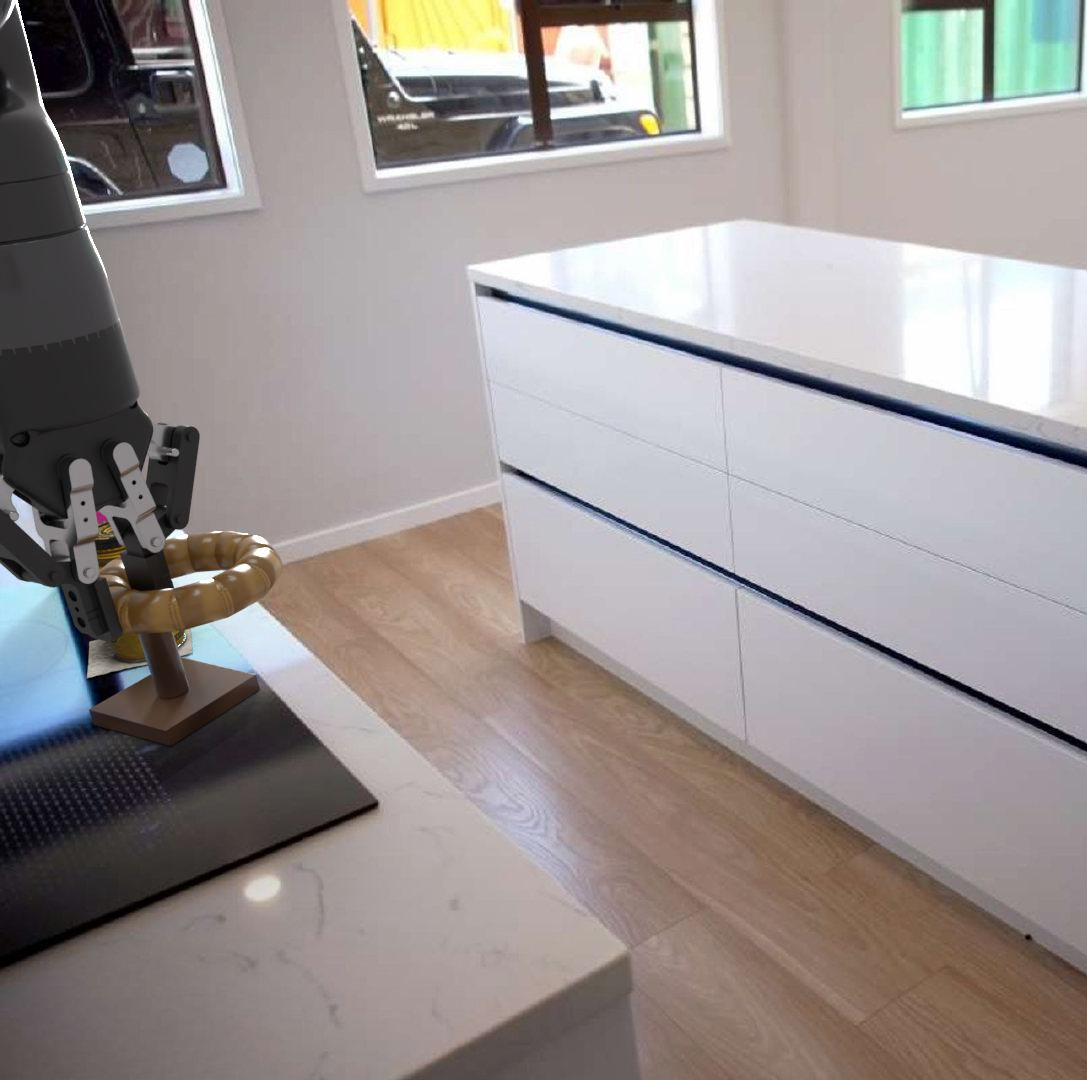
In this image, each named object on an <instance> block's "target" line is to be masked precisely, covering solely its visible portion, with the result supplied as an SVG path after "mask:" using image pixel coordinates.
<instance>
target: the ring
mask: <svg viewBox="0 0 1087 1080" xmlns="http://www.w3.org/2000/svg"><path fill="white" fill-rule="evenodd" d="M163 552H164V555H165V559H166V562H167V565H168V569H169V572H170V573H169V574H170V575H171V580H174V579H177V578H180V577H184V576H188V575H192V574H196V573H206V572H207V573H208V572H218V571H219V572H220V571H221V572H220V573H218V574H216V575H214V576H212V577H210V578H207V579H204V580H200V581H196V582H193V583H189V584H185V585H182V586H178V587H174V589H162V590H149V591H138V590H134V589H131V588H130V585H129V582H128V578H127V575H126V572H125V569H124V566H123V562H122V559H121V557H118V558H116V559H114V560H112V561H110V562H109V563H108V564H106V565H105V566H104V567H103V568H102V569H101V570H100V574H99V576H100V577H104V578H106V580H107V583H108V586H109V590H110V593H111V596H112V599H113V602H114V605H115V608H116V611H117V614H118V618H119V622H120V624H121V627H122V630H123V632H127V633H131V634H150V633H162V632H174V631H183V630H187V629H190V628H191V629H193V628H197V627H201V626H204V625H207V624H211V623H214V622H218V621H221V620H225V619H228V618H230V617H232V616H234V615H236V614H237V613H239V612H241V611H243V610H245V609H246V608H248V607H250V606H252V605H254V604H255V603H258V602H259V601H261V600H263V599H264V598H265V597H267V595H268V593H269V592H270V591H271V589H272V588H273V587H274V585H275V584H276V582H277V581H278V580H279V578H280V577H281V575H282V572H283V567H284V566H283V561H282V558H281V557H280V555H279V554H278V552H277V551H276V550H275V548H274V547H273V545H272V544H271V543H270V542H269V541H268V540H267V539H266V538H264V537H262V536H259V535H255V534H250V533H249V534H248V533H243V532H237V531H232V530H226V531H225V530H221V531H210V532H209V531H208V532H198V533H197V532H196V533H187V534H183V535H180V536H175V537H170V538H167V539H166V540H165V546H164V548H163Z"/></svg>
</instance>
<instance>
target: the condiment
mask: <svg viewBox="0 0 1087 1080" xmlns="http://www.w3.org/2000/svg"><path fill="white" fill-rule="evenodd" d="M98 528H99V536H98V538H97V539H96V540H95V546H96V552H97V558H98V563H99V569H100V570H101V569H102V568H103V567H104V566H105V565H106V564H108V563H109V562H110V561H112V560H114V559H116V558H118V557H121V556H120V553H122V552H124V551H126V548H125V547H124V546H121V545H120V544H119V542H118V540H117V538H116V536H115V534H114V532H113V530H112V528H111V526H110V524H109V522H108V521H105V522H102V523H99V524H98ZM191 629H192V628H190V629H187V630H183V631H174V632H173V635H174V638H175V641H176V645H177V648H178V651H179V654H180V657H184V656H187V655H189V654H191V653H193V641H192V630H191ZM184 633H185V634H186V639H185V641H183V639H184V638H185V637H184V636H185V635H184ZM182 642H183V643H182ZM179 644H181V645H180V646H179V647H178V645H179ZM146 665H147V666H148V664H147V661H146V657H145V654H144V651H143V648H142V645H141V642H140V639H139V636H138V634H131V633H127V632H123V635H122V636H120V637H118V638H116V639H115V640H113V641H111V642H107V641H103V640H99V639H95V640H91V641H89V642H88V664H87V673H86V679H89V678H93V677H96V676H101V675H107V674H109V673H111V672H118V671H122V670H124V669H131V668H135V667H141V666H146Z"/></svg>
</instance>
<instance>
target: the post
mask: <svg viewBox="0 0 1087 1080" xmlns="http://www.w3.org/2000/svg"><path fill="white" fill-rule="evenodd" d="M138 636H139V639H140V642H141V645H142V648H143V651H144V654H145V657H146V661H147V666H148V670H149V673H150V674H148V675H147V676H145V677H143V678H141V679H140V680H138V681H136V682H135V683H133V684H131V685H129V686H127V687H125V688H124V689H122V690H120V691H119V692H117V693H115V694H114V695H112V696H110V697H108V698H107V699H105V700H103V701H101V702H100V703H98V704H96V705H94V706H92V707H91V708H89V709H88V712H89V715H90V718H91V720H92V724H93V725H94V726H96V727H100V728H103V729H106V730H107V729H108V730H111V731H115V732H118V733H121V734H125V735H129V736H133V737H136V738H139V739H144V740H147V741H151V742H154V743H158V744H161V745H164V746H168V747H172V746H174V745H176V744H178V743H179V742H181V740H183V739H185V738H186V737H188V736H190V735H192V734H193V733H194V732H196V731H198V730H199V729H201V728H202V727H204V726H206V725H207V724H209V723H210V722H212V721H213V720H215V719H217V718H218V717H220V716H221V715H223V714H224V713H226V712H228V711H229V710H231V709H232V708H233V707H235V706H237V705H239V704H240V703H242V702H243V701H245V700H246V699H248V698H249V697H251V696H252V695H254V694H256V693H258V692H259V691H261V688H260V684H259V680H258V677H257V674H256V673H252V672H251V673H250V672H246V671H243V670H237V669H234V668H230V667H225V666H220V665H216V664H212V663H208V662H205V661H199V660H196V659H191V658H187V657H184V656H180V654H179V651H178V648H177V645H176V641H175V638H174V635H173V632H162V633H150V634H138Z"/></svg>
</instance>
